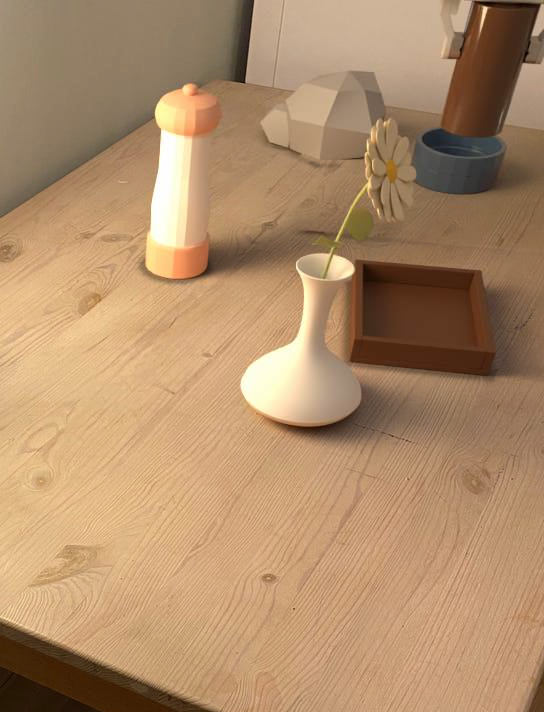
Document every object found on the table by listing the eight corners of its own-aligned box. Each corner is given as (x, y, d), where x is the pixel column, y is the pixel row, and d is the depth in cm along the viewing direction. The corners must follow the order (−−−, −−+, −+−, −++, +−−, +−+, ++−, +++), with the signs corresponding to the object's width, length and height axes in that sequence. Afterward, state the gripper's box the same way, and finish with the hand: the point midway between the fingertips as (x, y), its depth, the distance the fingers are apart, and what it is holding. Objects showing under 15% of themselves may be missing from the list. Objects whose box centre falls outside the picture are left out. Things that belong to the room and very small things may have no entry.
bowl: (490, 168, 130) (502, 129, 126) (497, 201, 122) (510, 161, 119) (406, 162, 131) (415, 123, 128) (408, 195, 124) (418, 155, 120)
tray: (474, 292, 106) (481, 270, 104) (487, 375, 95) (496, 352, 93) (350, 281, 108) (355, 259, 106) (349, 361, 97) (354, 338, 95)
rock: (238, 141, 137) (247, 66, 130) (322, 107, 146) (334, 36, 139) (342, 177, 128) (357, 99, 121) (424, 138, 137) (443, 64, 130)
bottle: (499, 118, 89) (553, -61, 79) (505, 140, 85) (562, -45, 75) (437, 114, 90) (484, -63, 80) (441, 135, 86) (489, -48, 76)
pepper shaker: (163, 284, 108) (176, 101, 94) (134, 257, 113) (143, 79, 99) (218, 271, 110) (239, 90, 96) (188, 245, 115) (203, 69, 101)
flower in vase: (292, 452, 86) (351, 166, 68) (214, 394, 93) (249, 119, 74) (395, 408, 91) (476, 129, 72) (314, 355, 97) (370, 88, 79)
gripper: (411, -137, 73) (370, 64, 83) (696, -130, 70) (617, 78, 80) (409, -151, 77) (370, 42, 87) (677, -145, 74) (604, 55, 84)
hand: (490, 59), depth 84 cm, fingers closed on bottle, 5 cm apart
